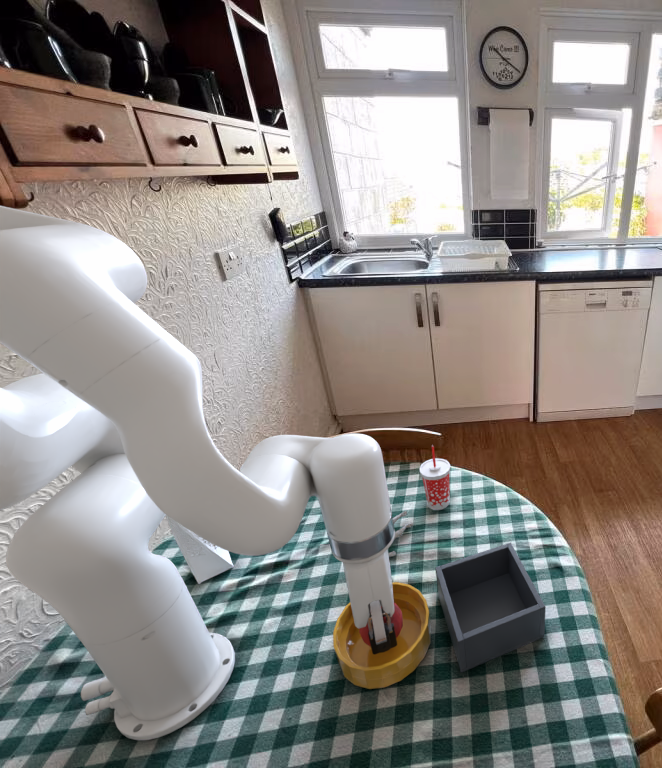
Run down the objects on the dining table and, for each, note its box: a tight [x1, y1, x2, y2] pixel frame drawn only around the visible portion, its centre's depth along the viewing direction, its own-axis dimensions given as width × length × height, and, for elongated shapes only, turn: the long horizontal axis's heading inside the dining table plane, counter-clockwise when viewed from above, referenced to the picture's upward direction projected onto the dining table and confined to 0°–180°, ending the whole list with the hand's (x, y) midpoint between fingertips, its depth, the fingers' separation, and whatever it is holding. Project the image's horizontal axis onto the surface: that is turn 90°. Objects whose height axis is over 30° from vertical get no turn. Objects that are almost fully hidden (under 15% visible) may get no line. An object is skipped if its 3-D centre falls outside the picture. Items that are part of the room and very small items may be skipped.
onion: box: [359, 603, 403, 647], centre depth 58 cm, size 6×6×8 cm
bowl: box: [332, 581, 433, 690], centre depth 59 cm, size 13×13×4 cm
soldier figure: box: [388, 510, 414, 558], centre depth 75 cm, size 8×5×12 cm
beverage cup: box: [419, 445, 451, 511], centre depth 83 cm, size 6×6×14 cm
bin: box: [434, 542, 546, 673], centre depth 62 cm, size 13×13×7 cm
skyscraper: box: [165, 515, 235, 585], centre depth 66 cm, size 8×8×28 cm
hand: (381, 626), depth 58 cm, fingers closed on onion, 5 cm apart
